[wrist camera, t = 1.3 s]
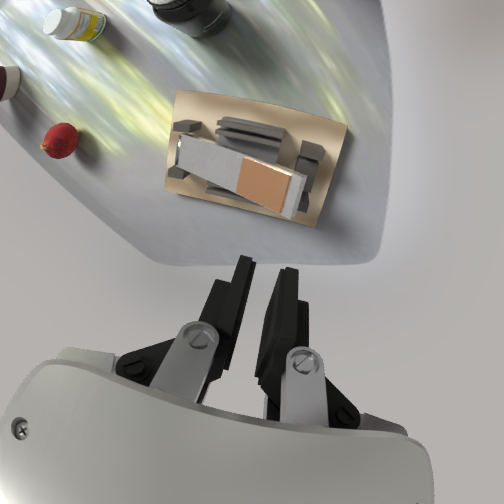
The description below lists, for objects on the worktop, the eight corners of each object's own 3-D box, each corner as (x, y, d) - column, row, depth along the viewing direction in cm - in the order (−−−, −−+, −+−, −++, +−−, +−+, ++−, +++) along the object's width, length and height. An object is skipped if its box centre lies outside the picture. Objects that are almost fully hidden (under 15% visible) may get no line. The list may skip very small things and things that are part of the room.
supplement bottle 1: (111, 26, 24) (68, 18, 16) (87, 48, 26) (44, 46, 18) (101, 6, 22) (60, -3, 14) (78, 28, 24) (37, 25, 16)
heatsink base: (182, 90, 30) (161, 89, 24) (344, 124, 29) (355, 129, 24) (170, 186, 37) (150, 202, 32) (314, 221, 37) (316, 243, 32)
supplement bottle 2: (228, 39, 25) (195, 13, 15) (178, 39, 26) (128, 21, 16) (236, -4, 22) (209, -43, 12) (185, -2, 22) (142, -32, 12)
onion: (89, 120, 33) (54, 130, 26) (86, 154, 36) (53, 168, 29) (66, 118, 33) (32, 127, 26) (64, 149, 36) (32, 163, 29)
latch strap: (184, 132, 29) (174, 132, 28) (307, 175, 22) (300, 177, 21) (180, 163, 31) (171, 165, 30) (295, 216, 24) (287, 220, 23)
